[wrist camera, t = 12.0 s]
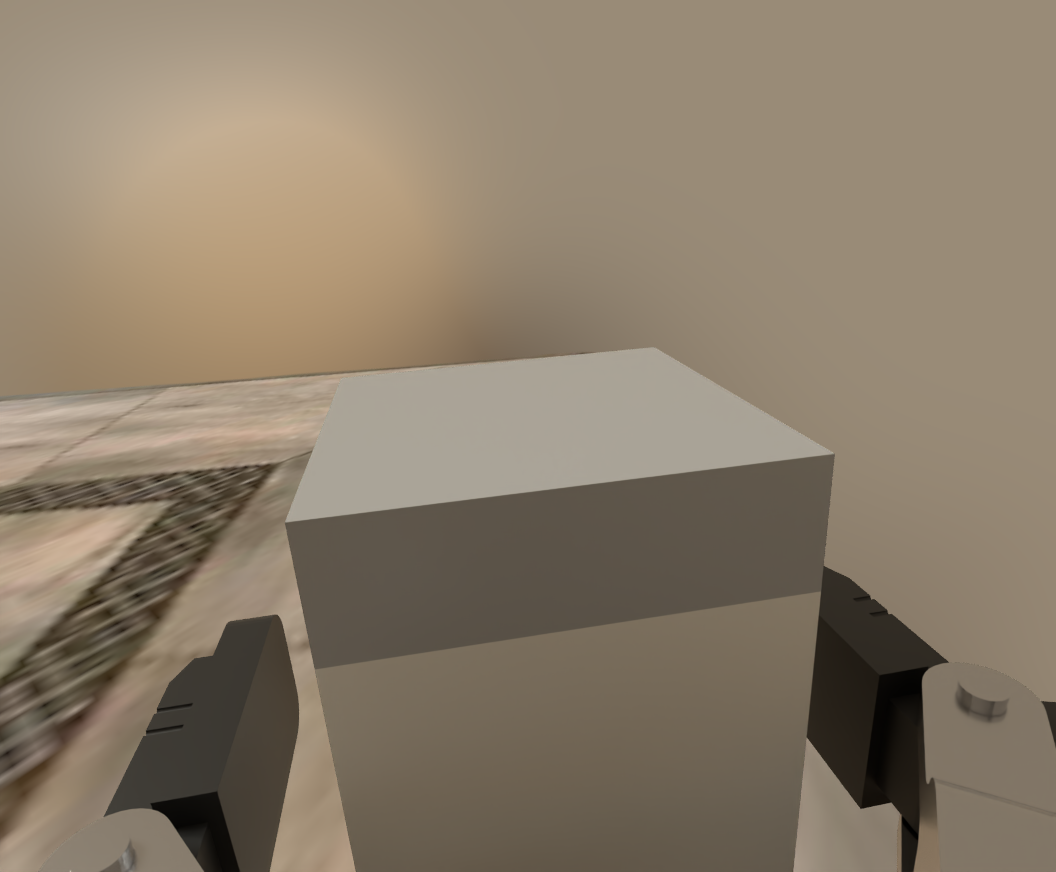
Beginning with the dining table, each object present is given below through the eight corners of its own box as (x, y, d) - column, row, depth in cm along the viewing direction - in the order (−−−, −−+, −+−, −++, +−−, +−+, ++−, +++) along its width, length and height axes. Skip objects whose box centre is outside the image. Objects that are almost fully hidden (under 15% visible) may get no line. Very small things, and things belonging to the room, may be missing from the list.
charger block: (450, 1338, 10) (285, 522, 6) (437, 985, 15) (341, 377, 10) (755, 1248, 11) (834, 454, 6) (652, 937, 16) (654, 347, 11)
